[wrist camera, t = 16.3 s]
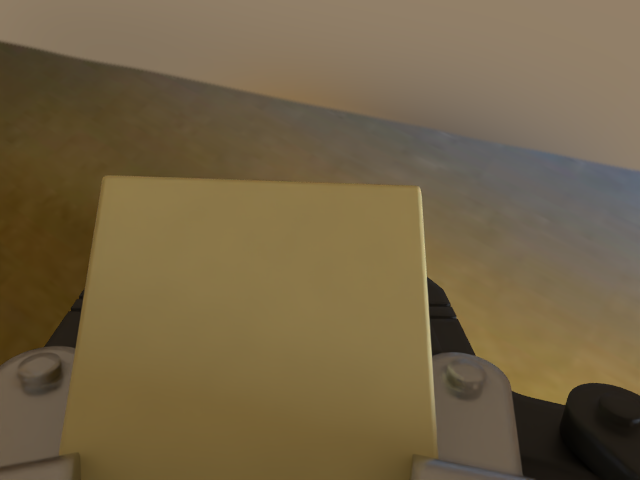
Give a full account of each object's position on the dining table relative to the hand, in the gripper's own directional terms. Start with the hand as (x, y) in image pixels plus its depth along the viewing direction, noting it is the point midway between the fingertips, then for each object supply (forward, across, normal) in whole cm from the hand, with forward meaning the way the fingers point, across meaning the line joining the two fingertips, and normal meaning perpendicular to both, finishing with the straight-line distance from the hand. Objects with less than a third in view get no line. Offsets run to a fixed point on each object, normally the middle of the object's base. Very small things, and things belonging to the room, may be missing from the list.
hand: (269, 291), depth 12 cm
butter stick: (+2, 0, +5) cm, 5 cm away
